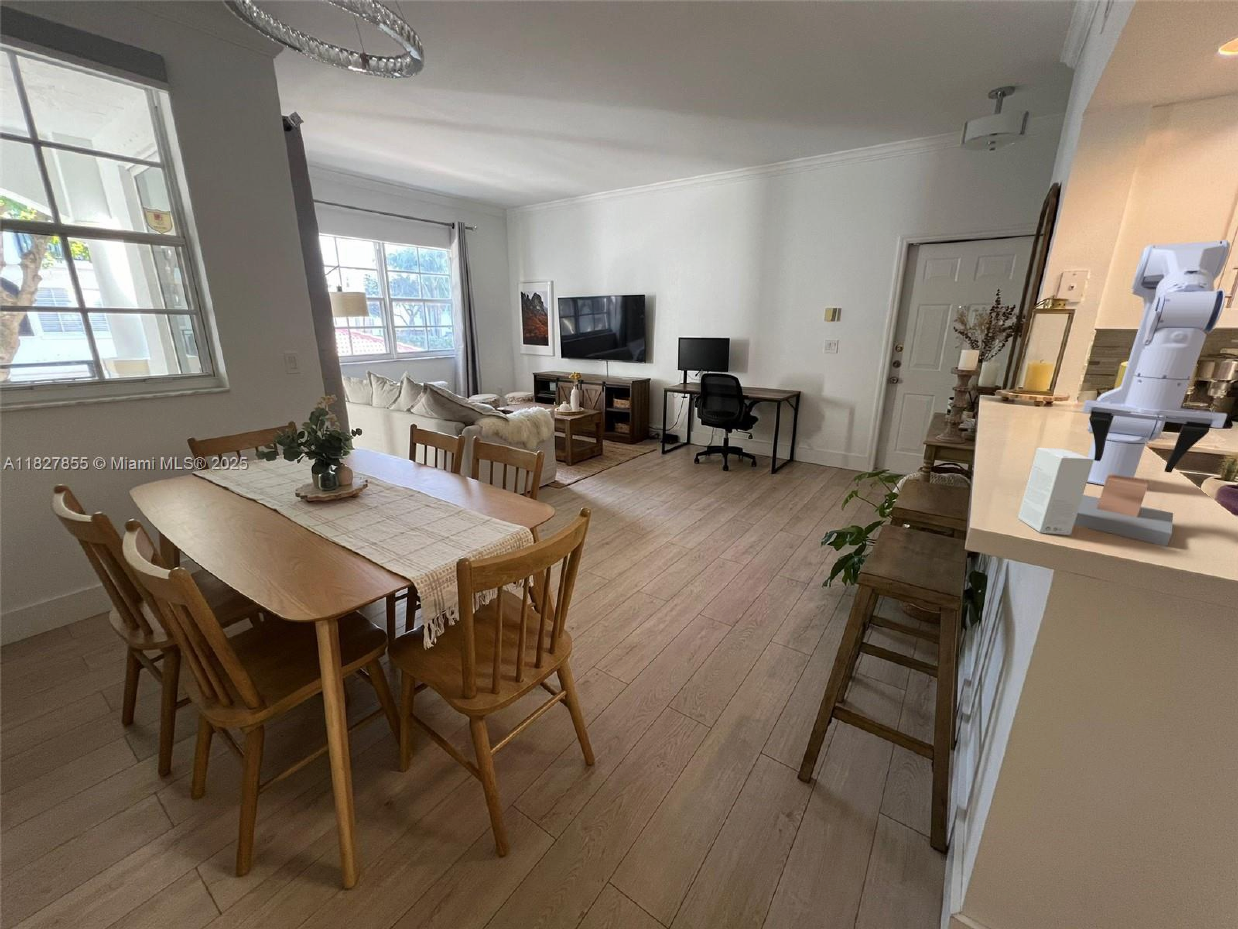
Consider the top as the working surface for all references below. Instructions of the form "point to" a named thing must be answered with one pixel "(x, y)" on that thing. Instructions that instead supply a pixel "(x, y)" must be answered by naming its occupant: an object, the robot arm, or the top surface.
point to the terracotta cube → (1123, 495)
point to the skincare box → (1055, 490)
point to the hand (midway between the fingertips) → (1131, 465)
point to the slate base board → (1126, 522)
